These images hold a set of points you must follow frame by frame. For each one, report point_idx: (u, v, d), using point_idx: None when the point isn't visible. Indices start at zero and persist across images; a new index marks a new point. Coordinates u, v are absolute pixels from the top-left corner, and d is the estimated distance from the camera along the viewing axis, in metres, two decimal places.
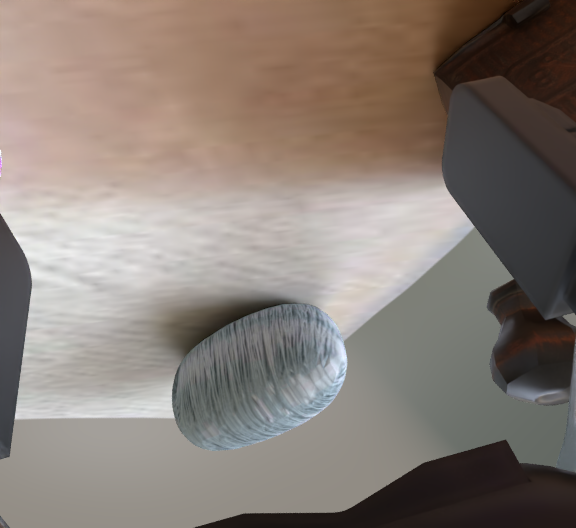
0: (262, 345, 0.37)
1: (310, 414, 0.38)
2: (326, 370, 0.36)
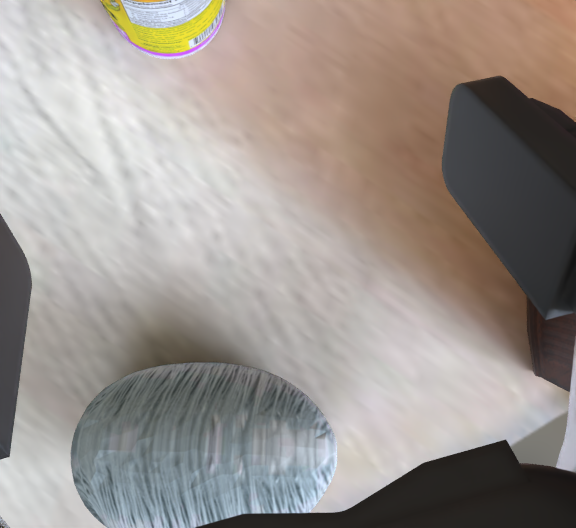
0: (256, 378, 0.29)
1: (259, 506, 0.25)
2: (317, 443, 0.27)
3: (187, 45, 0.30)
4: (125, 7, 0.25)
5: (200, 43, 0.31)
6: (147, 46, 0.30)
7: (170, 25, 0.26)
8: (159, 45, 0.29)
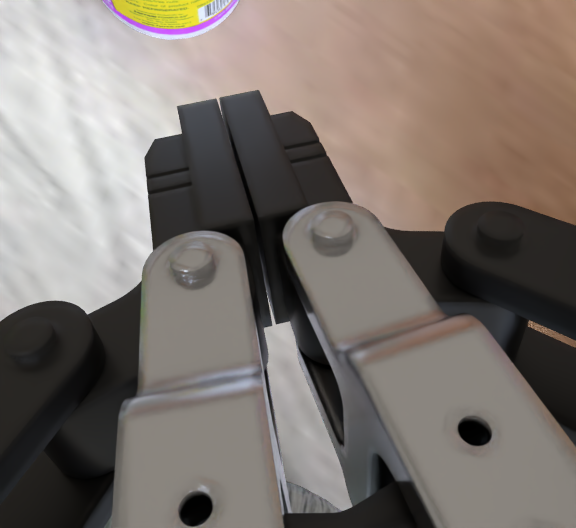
0: None
1: None
2: None
3: (195, 17, 0.21)
4: None
5: (213, 16, 0.22)
6: (139, 16, 0.21)
7: None
8: (155, 14, 0.20)
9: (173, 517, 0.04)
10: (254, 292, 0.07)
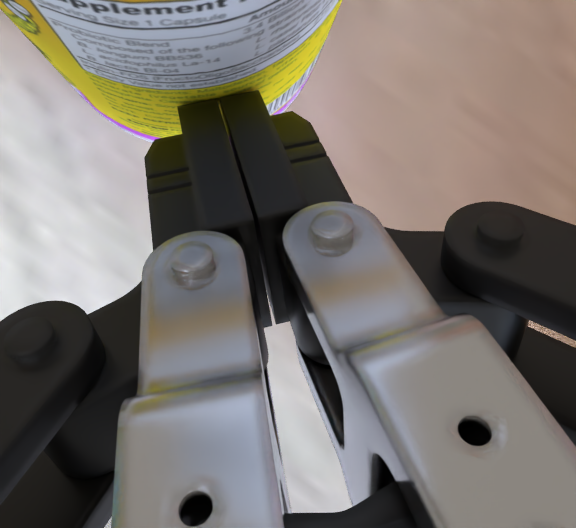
0: None
1: None
2: None
3: None
4: (54, 22, 0.07)
5: None
6: (136, 126, 0.12)
7: (205, 82, 0.09)
8: (166, 127, 0.11)
9: (173, 517, 0.04)
10: (254, 292, 0.07)
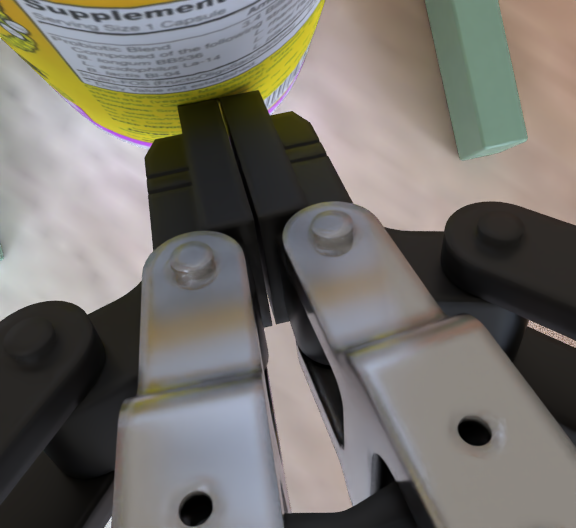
0: None
1: None
2: None
3: None
4: (54, 37, 0.07)
5: None
6: (137, 134, 0.12)
7: (205, 81, 0.09)
8: (168, 132, 0.11)
9: (173, 517, 0.04)
10: (254, 292, 0.07)
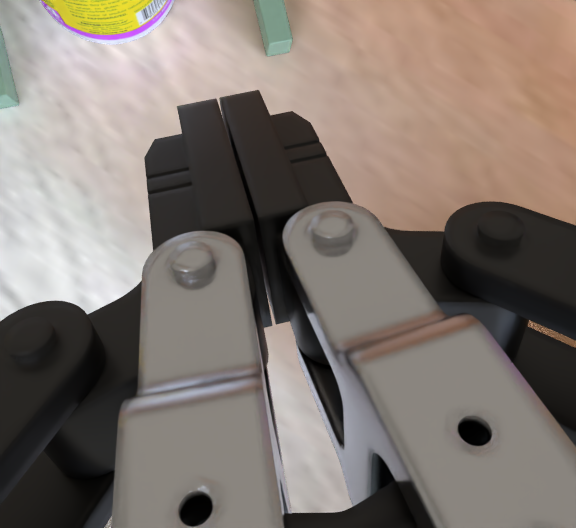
0: None
1: None
2: None
3: (134, 21, 0.24)
4: None
5: (151, 18, 0.25)
6: (86, 27, 0.24)
7: None
8: (99, 22, 0.24)
9: (173, 518, 0.04)
10: (254, 292, 0.07)
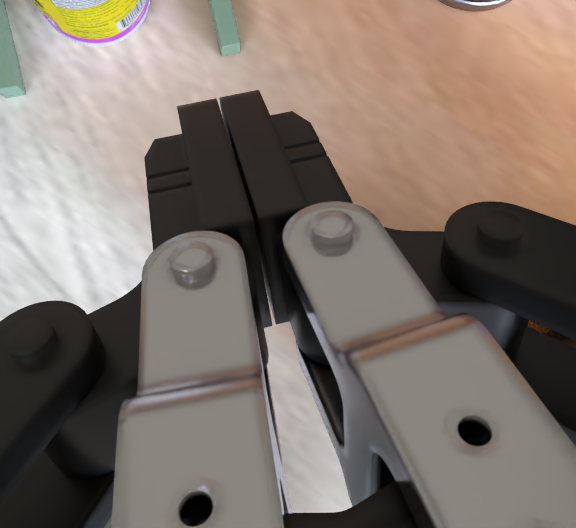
0: None
1: None
2: None
3: (115, 29, 0.31)
4: None
5: (129, 26, 0.32)
6: (77, 33, 0.31)
7: (91, 4, 0.28)
8: (88, 30, 0.31)
9: (173, 517, 0.04)
10: (254, 292, 0.07)
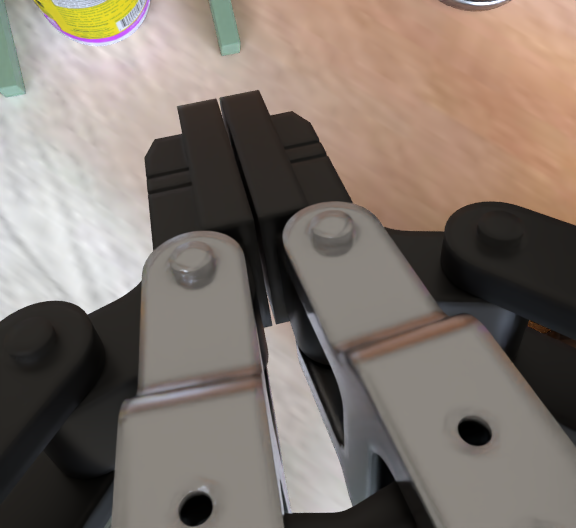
0: None
1: None
2: None
3: (115, 28, 0.31)
4: None
5: (129, 26, 0.32)
6: (78, 33, 0.31)
7: (92, 3, 0.28)
8: (88, 30, 0.31)
9: (173, 517, 0.04)
10: (254, 292, 0.07)
